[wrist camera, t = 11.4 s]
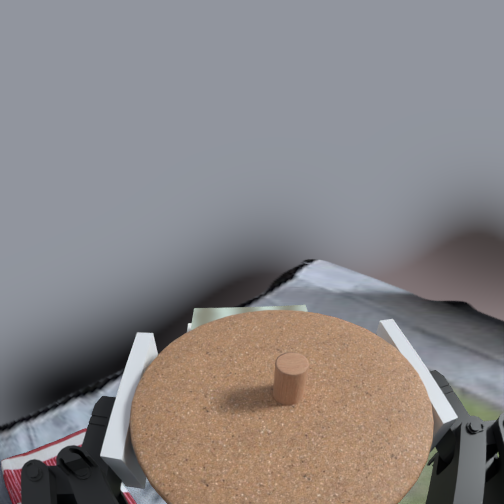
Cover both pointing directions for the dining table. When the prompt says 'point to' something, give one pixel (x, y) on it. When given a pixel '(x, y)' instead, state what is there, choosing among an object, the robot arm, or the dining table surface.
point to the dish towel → (47, 456)
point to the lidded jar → (281, 414)
